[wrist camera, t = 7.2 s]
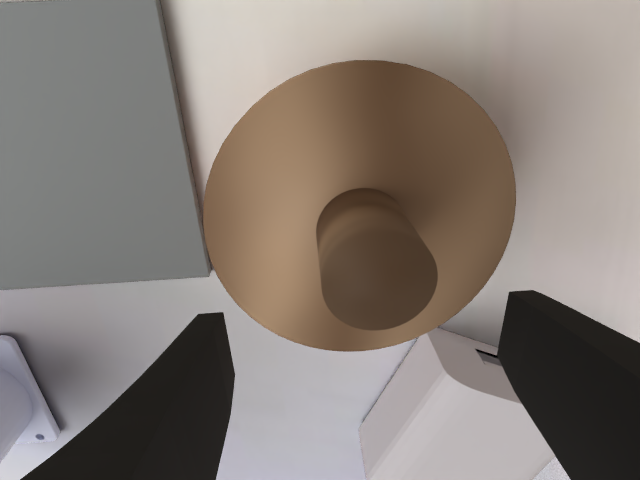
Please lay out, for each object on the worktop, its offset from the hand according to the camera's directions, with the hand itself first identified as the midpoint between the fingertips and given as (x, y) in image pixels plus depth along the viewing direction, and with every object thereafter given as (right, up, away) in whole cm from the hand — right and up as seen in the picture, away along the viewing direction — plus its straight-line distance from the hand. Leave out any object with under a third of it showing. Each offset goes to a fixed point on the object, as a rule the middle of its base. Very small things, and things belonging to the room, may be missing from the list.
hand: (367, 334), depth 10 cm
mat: (-13, +6, +7) cm, 16 cm away
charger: (+6, -10, +17) cm, 20 cm away
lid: (0, +3, +5) cm, 6 cm away
